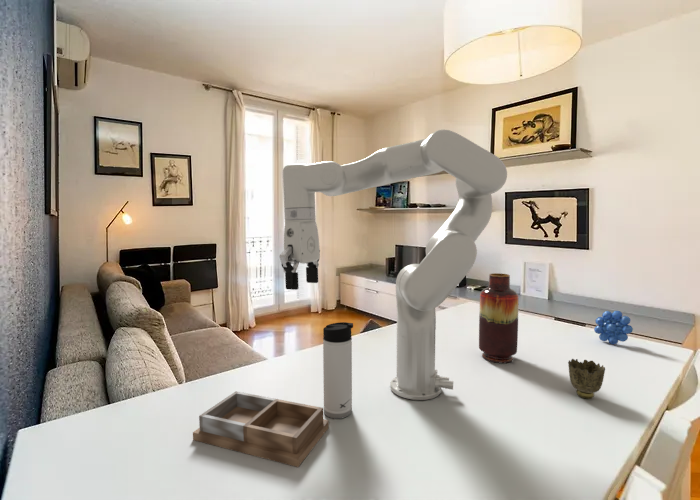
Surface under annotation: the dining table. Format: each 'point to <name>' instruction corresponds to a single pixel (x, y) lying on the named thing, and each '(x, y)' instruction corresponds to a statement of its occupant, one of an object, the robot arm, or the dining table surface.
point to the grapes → (613, 327)
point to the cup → (586, 377)
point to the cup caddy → (263, 427)
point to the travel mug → (337, 370)
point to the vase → (498, 320)
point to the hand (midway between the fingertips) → (302, 285)
